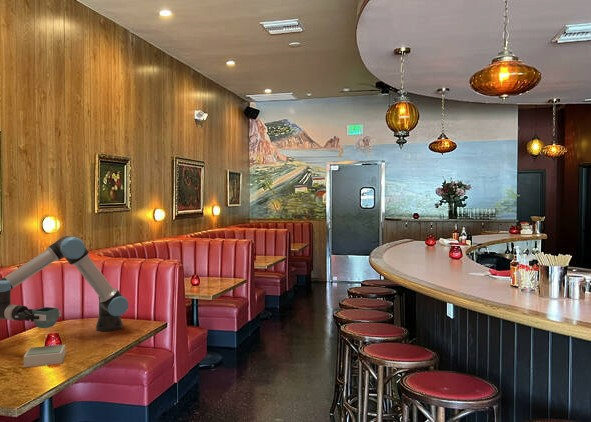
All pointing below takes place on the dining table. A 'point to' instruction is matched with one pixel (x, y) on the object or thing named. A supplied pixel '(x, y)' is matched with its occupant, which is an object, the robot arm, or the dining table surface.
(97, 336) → the dining table surface
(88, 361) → the dining table surface
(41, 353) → the grey box
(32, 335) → the dining table surface
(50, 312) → the flower pot
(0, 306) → the robot arm
